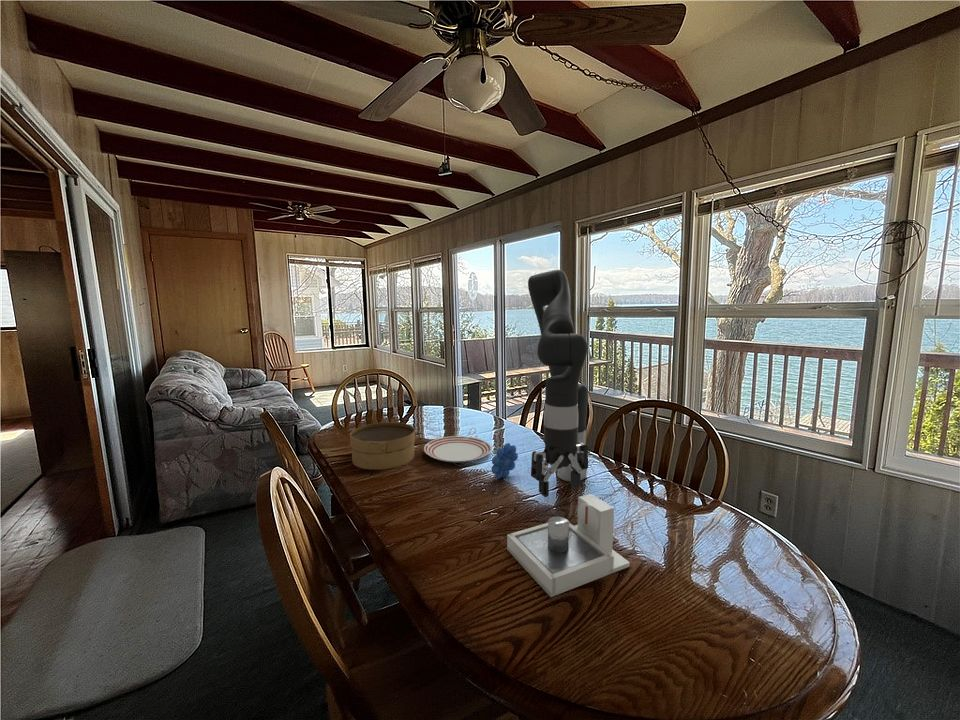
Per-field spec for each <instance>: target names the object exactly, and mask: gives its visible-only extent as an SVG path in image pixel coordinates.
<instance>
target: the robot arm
mask: <svg viewBox="0 0 960 720" xmlns="http://www.w3.org/2000/svg"><path fill="white" fill-rule="evenodd" d="M527 286H528V287H527V288H528V294H529V297H530V301H531V302H532V303H531V304H532V306H533V310H534V313H535V316H536V319H537V320H536V321H537V322H538V327H539V331H540V336H541V337H540V338H539V341H538V345H537V349H536V351H537V357H538V359H539V361H540V363H542V365H545V366H548V369H549V373H550V376H549V377H548V378H547V379H546V380H545V385H544V386H545V391H544V393H545V394H544V395H545V398H544V399H545V400H544V401H545V402H544V410H543V443H544V449H543V451H536V450H534V451H532V453H531V462H530V463H531V467H530V469H531V470H530V477H532V478H533V479H535V480H536V481H537V482H538V492H539V494H540V495H541V496H543V497H544V498H548V497H549V496H550V495H549V493H550V481H549V479H550V477H551V476H552V475H553V474H555V472H556V473H557V474H556V475H557V477H558V478H559V479H561V480H563V481H565V482H570V486H571V487H572V488H573V489H575V490H577V489H579V488H580V485H581V482H582V481H583V480H584V479H585V478H587V476H588V475H587V474H588V473H587V472H588V469H589V449H588V448H589V446H588V445H587V444H586V432H587V431H586V430H587V429H586V428H587V418H588V417H587V414H588V401H589V390H588V386H587V385H586V384H585V383H580V377H581V373H582V369H583V367H584V364H585V362H586V358H587V354H588V343H587V340H586V338H585V337H584V336H583V335H582V334H580V333H575V329H574V323H573V319H572V314H571V292H570V291H571V290H570V283H569V279H568V277H567V274H566V273H565V271H564V270H562V269H553V270H549V271H545V272H540V273H537V274H533V275H530V276H529V278H528V281H527ZM549 465H550V466H549ZM556 470H557V471H556Z"/></svg>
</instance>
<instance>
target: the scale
mask: <svg viewBox="0 0 960 720" xmlns="http://www.w3.org/2000/svg"><path fill="white" fill-rule="evenodd" d="M577 498H578V499H577V512H576V513H577V524H575V525H573V524H572V523H571V522H569V530H570V531H572V532H573V533H574V534H576V535H577V536H578V537H579V538H581V539H582V540H583V541H584V542H586V543H587V544H588V545H590V546H591V547H592V548H593V549H595V550H596V551H597V552H599V553H600V554H601V555H602V556H601V557H598V558H596V559H593V560H590V561H587V562H585V563H582V564H579V565H576V566H573V567H571V568H568V569H565V570H562V571H560V572H557V573H554V574H552V573H551V572H550V571H549V570H548V569H547V568H546V567H545V566H544V565H543V564H542V563H541V562H540V561H539V560H538V559H537V558H536V557H535V556H534V555H533V554H532V553H531V552H530V551H529V550H528V549H527V548H526V547H525V546H524V545H523V544H522V543H521V542H520V541H519V540H518V539H517V537H521V536H524V535H527V534H531V533H534V532H537V531H541V530H544V529H548V522H545V523H542V524H538V525H535V526H532V527H529V528H524V529H522V530H519V531H518V530H517V531H515V532H511V533H508V534H507V535H506V537H507V538H506V540H507V542H506V548H507V549H506V550H507V551H508V552H509V553H510V555H512V557H513V558H514V559H515V560H516V561H517V562H518V563H519V564H520V566H522V568H523V569H524V570H525V571H526V572H527V573H528V574H529V575H530V576H531V578H533V579H534V581H535V582H536V583H537V584H538V585H539V586H540V587H541V588H542V590H543V591H544V592H545V593H546V594H547V595H548V596H549V598H553V597H555V596H558V595H560V594H562V593H565V592H568V591H571V590H573V589H576V588H578V587H580V586H584V585H585V584H589V583H591V582H593V581H595V580H599V579H601V578H604V577H607V576H608V575H612V574H614V573H616V572H620V571H621V570H625V569H627V568H629V567H630V566H631V562H630V561H629V560H627V559H626V558H625V557H623V556H622V555H621V554H619V553H618V552H616V551H615V550H614V549H613V541H614V540H613V539H614V517H615V508H614V507H613V506H612V505H610V504H608V503H607V502H605V501H604V500H602V499H601V498H598V497H597V496H596V495H593V494H592V493H589V494H585V495H581V496H578V497H577Z"/></svg>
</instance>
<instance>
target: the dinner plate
mask: <svg viewBox="0 0 960 720" xmlns="http://www.w3.org/2000/svg"><path fill="white" fill-rule="evenodd" d="M492 450H493V448H492V446H491V444H490V443H489V442H488V441H486V440H485V439H484V440H483V439H480V438H477V437H473V436H463V435H462V436H461V435H458V436H457V435H456V436H455V435H453V436H452V435H451V436H443V437H439V438H436V439H432V440H431V441H428V442H427V443H426V444H425V445H424V446H423V451H424V453H425V455H428V456H429V457H430V458H433V459H435V460H438V461H442V462H447V463H455V464H456V463H467V462H472V461H476V460H480V459H482V458H485V457H486V456H488V455H490V453H491V452H492Z"/></svg>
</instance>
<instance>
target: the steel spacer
mask: <svg viewBox="0 0 960 720" xmlns="http://www.w3.org/2000/svg"><path fill="white" fill-rule="evenodd" d="M547 523H548V547H549V549H551V550H552V551H555V552H565V551H567V550H568V548H569V523H570V521H569V520H568V519H567V518H565V517H563V516H552V517H550V518H548V520H547Z"/></svg>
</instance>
